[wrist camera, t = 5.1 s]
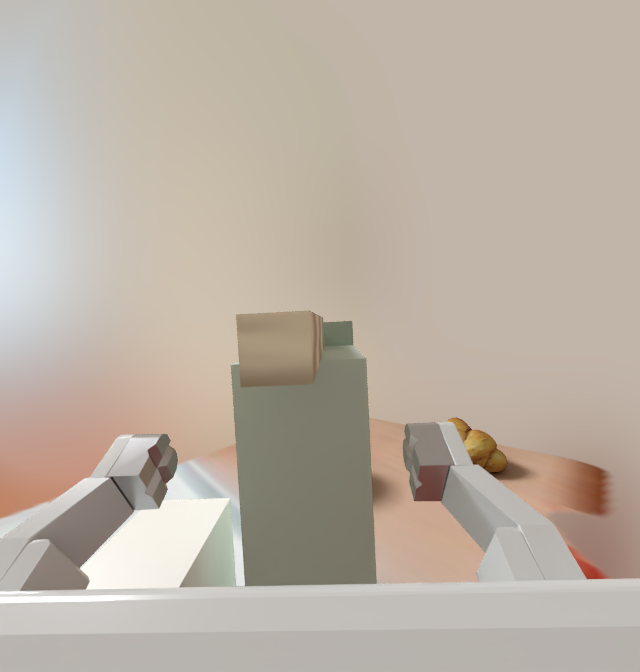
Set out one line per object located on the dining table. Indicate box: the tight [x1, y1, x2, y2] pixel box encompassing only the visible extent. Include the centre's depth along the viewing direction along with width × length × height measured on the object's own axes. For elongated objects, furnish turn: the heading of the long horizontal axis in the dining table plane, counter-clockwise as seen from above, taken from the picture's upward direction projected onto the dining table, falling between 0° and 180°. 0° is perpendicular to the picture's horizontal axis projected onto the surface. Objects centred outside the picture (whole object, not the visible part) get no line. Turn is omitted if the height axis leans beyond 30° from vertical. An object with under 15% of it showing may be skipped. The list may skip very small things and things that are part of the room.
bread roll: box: [447, 418, 507, 472], centre depth 62 cm, size 13×10×8 cm
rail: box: [236, 311, 325, 387], centre depth 23 cm, size 20×3×3 cm, turn 178°
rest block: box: [81, 498, 236, 589], centre depth 21 cm, size 12×7×15 cm, turn 178°
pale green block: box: [231, 321, 377, 586], centre depth 28 cm, size 14×9×30 cm, turn 178°
